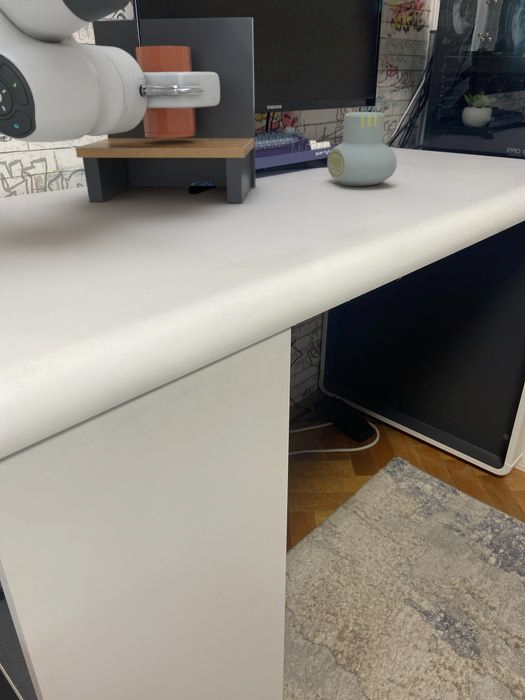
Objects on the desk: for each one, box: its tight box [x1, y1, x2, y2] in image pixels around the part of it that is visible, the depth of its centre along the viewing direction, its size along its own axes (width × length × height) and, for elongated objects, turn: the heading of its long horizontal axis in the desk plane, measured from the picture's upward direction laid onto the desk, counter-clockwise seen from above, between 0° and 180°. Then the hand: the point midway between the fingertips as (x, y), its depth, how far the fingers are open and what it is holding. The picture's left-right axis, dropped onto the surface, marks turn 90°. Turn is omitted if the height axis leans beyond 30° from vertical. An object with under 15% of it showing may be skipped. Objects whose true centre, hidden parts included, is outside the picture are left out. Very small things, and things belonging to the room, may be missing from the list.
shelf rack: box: [75, 16, 257, 204], centre depth 72 cm, size 22×13×22 cm, turn 85°
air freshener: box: [326, 111, 398, 187], centre depth 81 cm, size 11×8×10 cm
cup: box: [135, 46, 196, 138], centre depth 70 cm, size 7×7×10 cm
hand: (169, 88), depth 71 cm, fingers closed on cup, 7 cm apart
